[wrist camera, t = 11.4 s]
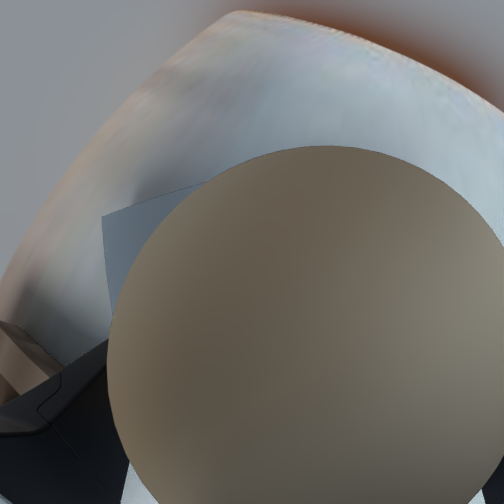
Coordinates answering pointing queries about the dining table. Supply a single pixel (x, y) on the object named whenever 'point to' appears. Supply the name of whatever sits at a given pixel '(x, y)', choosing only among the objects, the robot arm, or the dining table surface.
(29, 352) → the frame
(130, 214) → the board
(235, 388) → the leg
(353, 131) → the dining table surface
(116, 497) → the robot arm
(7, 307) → the dining table surface
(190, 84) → the dining table surface
